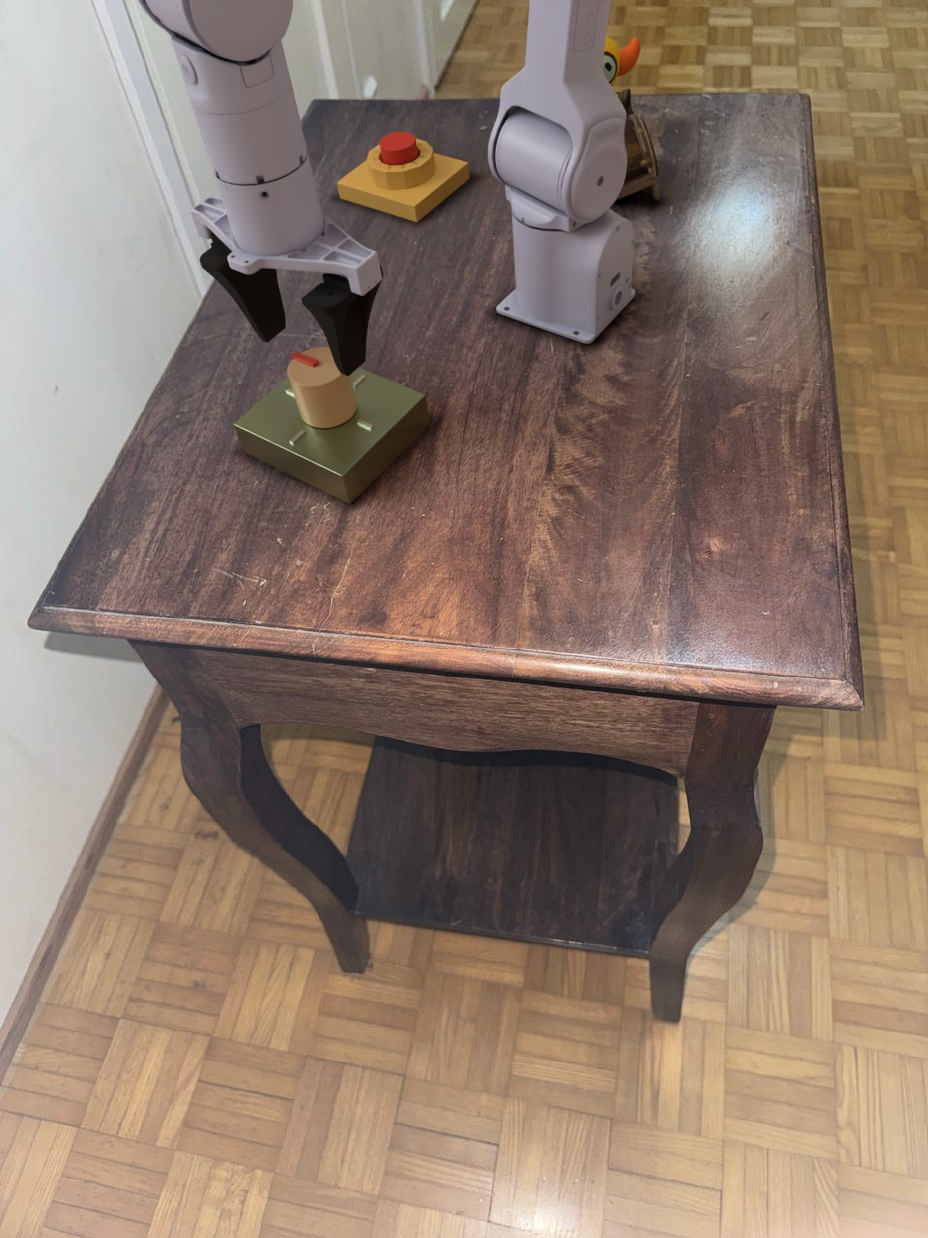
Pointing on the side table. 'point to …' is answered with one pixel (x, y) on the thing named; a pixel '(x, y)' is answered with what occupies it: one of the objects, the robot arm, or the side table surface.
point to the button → (398, 148)
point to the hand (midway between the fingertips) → (312, 349)
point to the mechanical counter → (639, 159)
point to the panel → (336, 435)
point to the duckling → (619, 59)
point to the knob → (321, 388)
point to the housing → (404, 183)
